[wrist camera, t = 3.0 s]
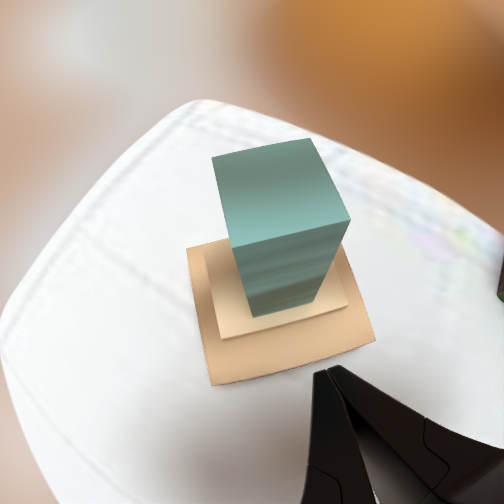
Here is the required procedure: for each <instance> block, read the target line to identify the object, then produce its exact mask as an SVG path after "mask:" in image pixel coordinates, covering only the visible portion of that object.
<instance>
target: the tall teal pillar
mask: <svg viewBox="0 0 504 504" xmlns="http://www.w3.org/2000/svg"><path fill="white" fill-rule="evenodd" d="M212 162H213V167H214V172H215V176H216V181H217V185H218V190H219V194H220V199H221V203H222V208H223V212H224V217H225V221H226V225H227V230H228V234H229V239H225V240H221V241H217V242H213V243H209V244H205V245H203V251H204V256H205V262H206V267H207V272H208V278H209V283H210V288H211V293H212V298H213V303H214V308H215V313H216V318H217V322H218V327H219V332H220V336H221V339H222V340H228V339H232V338H237V337H241V336H245V335H249V334H254V333H258V332H262V331H266V330H270V329H273V328H277V327H281V326H285V325H289V324H292V323H296V322H300V321H303V320H307V319H310V318H314V317H317V316H321V315H324V314H327V313H331V312H334V311H337V310H340V309H344V308H346V307H347V306H348V305H349V304H348V301H347V298H346V295H345V292H344V289H343V286H342V284H341V281H340V278H339V275H338V272H337V270H336V267H335V264H334V261H333V259H334V257H335V254H336V252H337V250H338V248H339V246H340V243H341V241H342V239H343V237H344V234H345V232H346V230H347V227H348V225H349V223H350V220H351V219H350V216H349V214H348V212H347V210H346V208H345V205H344V203H343V201H342V199H341V197H340V195H339V193H338V191H337V189H336V187H335V185H334V183H333V181H332V179H331V177H330V175H329V173H328V171H327V169H326V167H325V165H324V163H323V161H322V159H321V157H320V155H319V153H318V152H317V150H316V148H315V146H314V144H313V142H312V140H311V139H310V138H306V139H300V140H294V141H288V142H282V143H277V144H272V145H267V146H261V147H257V148H252V149H247V150H242V151H238V152H233V153H229V154H225V155H220V156H216V157H212Z"/></svg>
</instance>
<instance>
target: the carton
mask: <svg viewBox="0 0 504 504" xmlns="http://www.w3.org/2000/svg"><path fill="white" fill-rule="evenodd" d="M227 239H229V238H227ZM223 240H225V239H223ZM219 241H221V240H219ZM215 242H217V241H215ZM211 243H213V242H211ZM207 244H209V243H207ZM203 245H205V244H203ZM203 245H199V246H195V247H191V248H187V249H186V251H187V258H188V265H189V271H190V277H191V283H192V289H193V295H194V301H195V306H196V312H197V317H198V322H199V328H200V333H201V338H202V343H203V348H204V352H205V357H206V362H207V366H208V371H209V375H210V380H211V384H212V386H217V385H224V384H229V383H234V382H239V381H244V380H248V379H253V378H257V377H261V376H265V375H269V374H273V373H277V372H281V371H285V370H289V369H292V368H296V367H300V366H303V365H306V364H310V363H313V362H317V361H320V360H323V359H326V358H329V357H333V356H336V355H339V354H342V353H345V352H348V351H351V350H353V349H356V348H359V347H362V346H364V345H366V344H369V343H371V342H373V341H376V339H375V336H374V333H373V330H372V326H371V323H370V320H369V317H368V314H367V311H366V308H365V306H364V303H363V300H362V297H361V294H360V291H359V288H358V286H357V283H356V280H355V277H354V275H353V272H352V269H351V267H350V264H349V262H348V259H347V256H346V254H345V251H344V249H343V246H342V244H341V243H340V246H339V248H338V250H337V252H336V254H335V257H334V259H333V261H334V264H335V267H336V270H337V272H338V275H339V278H340V281H341V284H342V286H343V289H344V292H345V295H346V298H347V301H348V304H349V305H348V306H347V307H346V308H344V309H340V310H337V311H334V312H331V313H327V314H324V315H321V316H317V317H314V318H310V319H307V320H303V321H300V322H296V323H292V324H289V325H285V326H281V327H277V328H273V329H270V330H266V331H262V332H258V333H254V334H249V335H245V336H241V337H237V338H232V339H228V340H222V339H221V336H220V332H219V327H218V322H217V318H216V313H215V308H214V303H213V298H212V293H211V288H210V283H209V278H208V272H207V267H206V262H205V256H204V251H203Z"/></svg>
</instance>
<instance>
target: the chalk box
mask: <svg viewBox="0 0 504 504" xmlns="http://www.w3.org/2000/svg"><path fill="white" fill-rule="evenodd" d="M497 295H498V296H499V298H500V299H502V300H503V301H504V264H503V269H502V275H501V280H500V284H499V289H498V294H497Z"/></svg>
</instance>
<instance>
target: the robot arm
mask: <svg viewBox="0 0 504 504" xmlns="http://www.w3.org/2000/svg"><path fill="white" fill-rule="evenodd" d="M424 418H425V417H424V416H423V415H421V414H419V413H418V412H416V411H414V410H413V409H411V408H409V407H407V406H406V405H404V404H402V403H401V402H399V401H397V400H396V399H394V398H392V397H391V396H389V395H387V394H386V393H384V392H383V391H381V390H379V389H378V388H376V387H374V386H373V385H371V384H370V383H368V382H366V381H365V380H363V379H362V378H360V377H358V376H357V375H355V374H354V373H352V372H351V371H349V370H347V369H346V368H344V367H343V366H341V365H336V366H333V367H330V368H328V369H327V370H325V369H324V370H321V371H318V372H315V373H314V374H313V388H312V407H311V423H310V436H309V449H308V460H307V468H306V478H305V484H304V490H303V495H302V499H301V503H300V504H376V501H375V497H374V494H373V490H374V492H375V494H376V496H377V498H378V500H379V502H380V504H504V449H500V448H497V447H493V446H490V445H488V444H485V443H482V442H479V441H476V440H473V439H471V438H468V437H465V436H463V435H460V434H458V433H456V432H453V431H451V430H449V429H447V428H445V427H443V426H441V425H439V424H437V423H435V422H434V421H432V420H430V419H428V418H425V419H424ZM371 486H372V487H371ZM372 488H373V490H372Z"/></svg>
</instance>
